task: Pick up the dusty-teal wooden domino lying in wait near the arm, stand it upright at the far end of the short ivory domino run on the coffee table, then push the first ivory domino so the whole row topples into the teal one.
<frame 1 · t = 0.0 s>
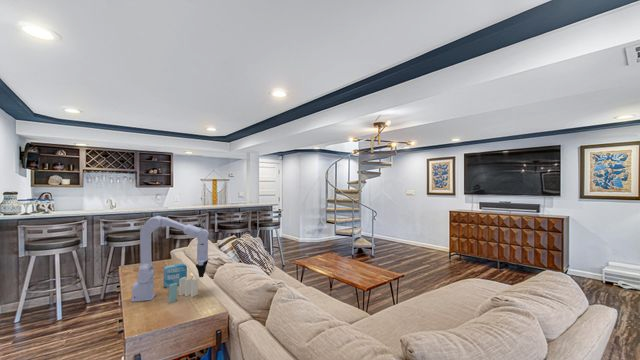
hand: (202, 275, 160), 10 cm above the table, fingers open, 7 cm apart
data package: (175, 285, 173), on the table
teal domino: (172, 301, 147), on the table
domino 3: (194, 296, 155), on the table
domino 2: (188, 295, 156), on the table
domino 1: (182, 294, 158), on the table
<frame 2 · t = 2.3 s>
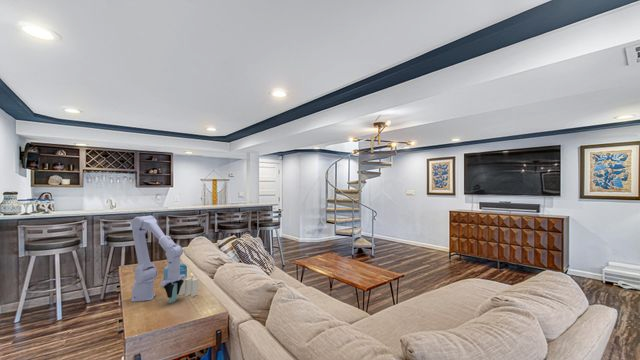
hand: (173, 295, 147), 3 cm above the table, fingers closed on teal domino, 4 cm apart
teal domino: (172, 301, 147), on the table, touching gripper
everything else where it was.
when the fingers open (4 cm above the table, at t = 6.7 s): teal domino drops 1 cm, on the table.
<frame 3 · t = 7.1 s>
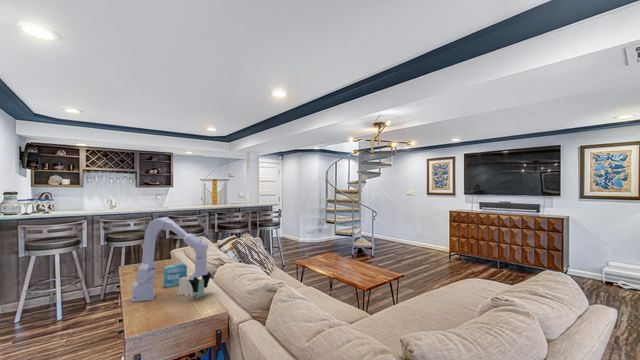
hand: (200, 289, 154), 4 cm above the table, fingers open, 7 cm apart
teal domino: (200, 296, 154), on the table
everything else where it was.
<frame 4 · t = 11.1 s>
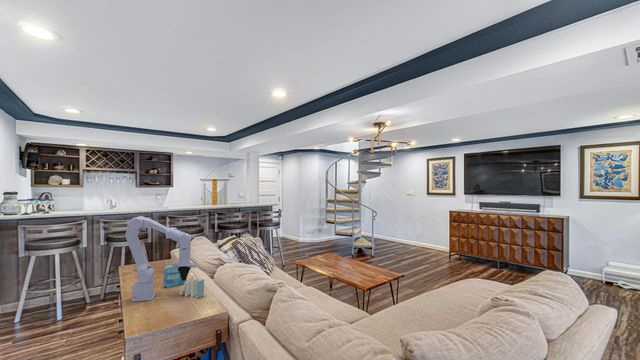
hand: (184, 280, 158), 8 cm above the table, fingers closed
domino 2: (188, 295, 156), on the table, tilted 11°
domino 1: (182, 293, 158), on the table, tilted 29°
everything else where it was.
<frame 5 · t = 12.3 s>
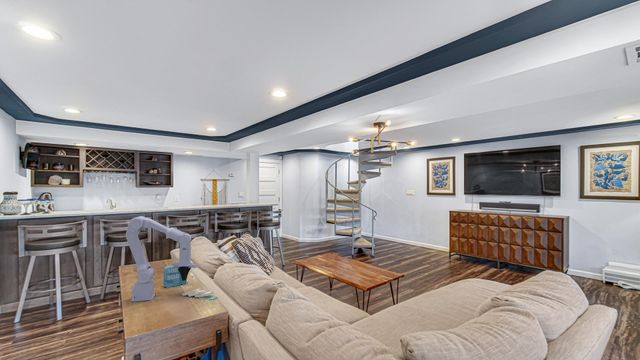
hand: (184, 280, 158), 8 cm above the table, fingers closed
teal domino: (201, 297, 154), on the table, tilted 90°, touching domino 3
domino 3: (197, 295, 155), point 1 cm above the table, tilted 77°, touching domino 2, teal domino
domino 2: (190, 294, 156), point 1 cm above the table, tilted 73°, touching domino 1, domino 3
domino 1: (185, 293, 157), point 1 cm above the table, tilted 73°, touching domino 2
everything else where it was.
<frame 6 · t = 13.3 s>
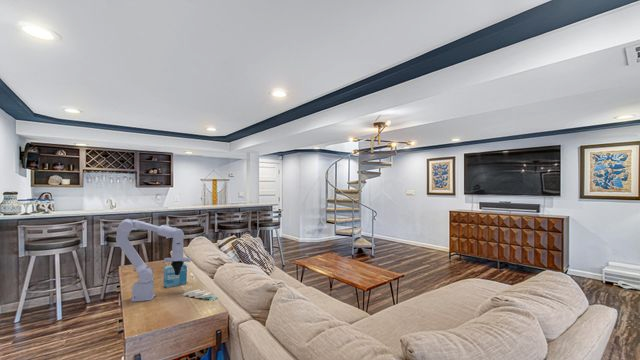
hand: (177, 274, 160), 10 cm above the table, fingers closed
domino 3: (197, 295, 154), point 1 cm above the table, tilted 78°, touching teal domino
domino 2: (191, 294, 155), point 1 cm above the table, tilted 74°, touching domino 1
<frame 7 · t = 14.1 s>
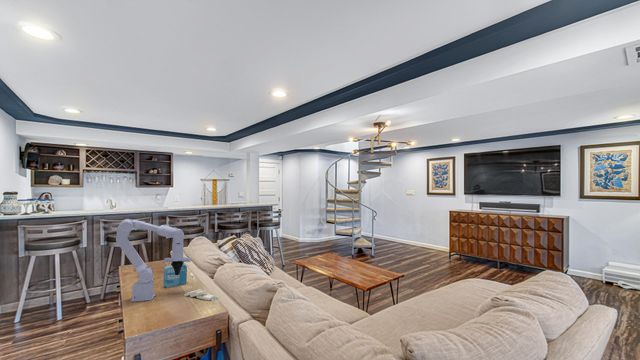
hand: (177, 274, 160), 10 cm above the table, fingers closed
teal domino: (201, 297, 153), on the table, tilted 90°
domino 3: (199, 295, 153), point 1 cm above the table, tilted 90°, touching domino 2
domino 2: (193, 294, 155), point 1 cm above the table, tilted 72°, touching domino 3
domino 1: (187, 293, 157), on the table, tilted 72°
everything else where it was.
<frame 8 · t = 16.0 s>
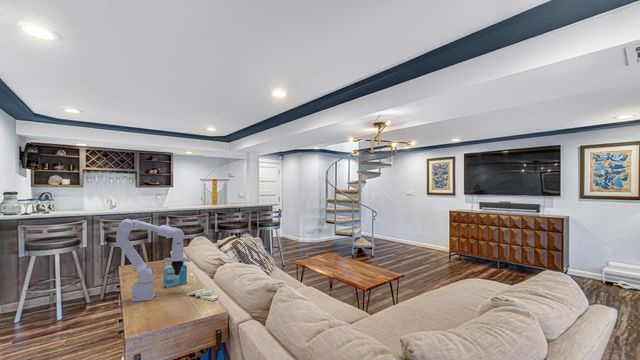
hand: (177, 274, 160), 10 cm above the table, fingers closed
teal domino: (202, 298, 153), on the table, tilted 90°, touching domino 3
domino 3: (203, 295, 153), point 1 cm above the table, tilted 90°, touching domino 2, teal domino
domino 2: (197, 294, 155), point 1 cm above the table, tilted 76°, touching domino 3
domino 1: (189, 293, 157), point 1 cm above the table, tilted 76°
everything else where it was.
at the end: domino 1 tilted 73°; teal domino tilted 90°; teal domino inside the target area (1.7 cm from its centre), on the table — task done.
